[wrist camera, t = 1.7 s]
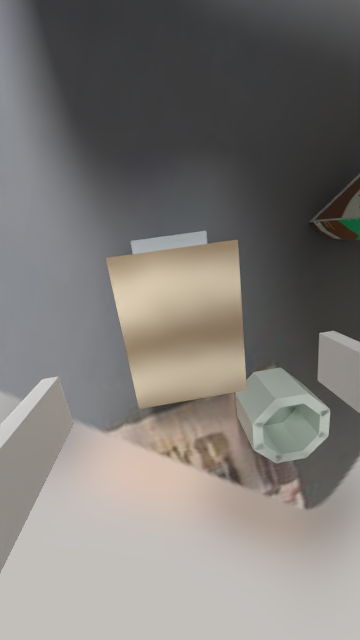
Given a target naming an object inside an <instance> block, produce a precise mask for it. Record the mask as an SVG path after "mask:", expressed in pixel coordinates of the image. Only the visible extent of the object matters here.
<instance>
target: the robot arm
mask: <svg viewBox="0 0 360 640" xmlns="http://www.w3.org/2000/svg"><path fill="white" fill-rule="evenodd" d="M318 381H319V382H320V383H321V384H323V385H324V386H325V387H327V388H328V389H329V390H330V391H332V392H333V393H334V394H336V395H337V396H338V397H339V398H341V399H342V400H343V401H345V402H346V403H347V404H348V405H350V406H351V407H352V408H353V409H355V410H356V411H357V412H359V413H360V342H359V341H356V340H354V339H352V338H349V337H347V336H345V335H342V334H340V333H338V332H335V331H329V332H323V333H319V355H318ZM73 424H74V423H73V420H72V417H71V414H70V411H69V408H68V404H67V401H66V398H65V395H64V392H63V389H62V386H61V382H60V379H59V377H53V378H47V379H42V380H41V381H40V382H39V383H38V385H37V386H36V387H35V388H34V389H33V390H32V391H31V392H30V393H29V394H28V395H27V396H26V398H25V399H24V400H23V401H22V402H21V403H20V404H19V405H18V406H17V407H16V408H15V410H14V411H13V412H12V413H11V414H10V415H9V416H8V417H7V418H6V419H5V420H4V421H3V422H2V424H1V425H0V572H1V570H2V568H3V566H4V564H5V562H6V560H7V558H8V556H9V554H10V552H11V550H12V548H13V546H14V544H15V542H16V540H17V538H18V536H19V534H20V532H21V530H22V527H23V526H24V524H25V522H26V520H27V518H28V516H29V513H30V511H31V509H32V507H33V505H34V503H35V501H36V499H37V497H38V495H39V493H40V491H41V489H42V487H43V485H44V483H45V481H46V479H47V477H48V475H49V473H50V471H51V469H52V467H53V465H54V462H55V461H56V459H57V457H58V455H59V452H60V451H61V449H62V447H63V445H64V443H65V441H66V438H67V436H68V434H69V432H70V430H71V428H72V426H73Z"/></svg>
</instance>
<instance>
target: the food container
mask: <svg viewBox="0 0 360 640" xmlns="http://www.w3.org/2000/svg"><path fill="white" fill-rule="evenodd" d="M309 223H310V224H311V225H312V226H313V228H314V229H315V230H316V231H317V232H319V233H321V234H323V235H325V236H326V237H328V238H333V239H340V240H352V241H360V174H359V175H358V176H357V177H356V178H355V179H354V180H352V181H351V182H350V183H349V184H348V185H347V186H346V187H345V188H344V189H343V190H342V191H341V192H340V193H339V194H338V195H337V196H336V197H335V198H334V199H333V200H332V201H331V202H329V203H328V204H327V205H326V206H325V207H324V208H323V209H322V210H321V211H320V212H319V213H318V214H317V215H316V216H315V217H314V218H313V219H312V220H311V221H310V222H309Z"/></svg>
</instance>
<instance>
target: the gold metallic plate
mask: <svg viewBox="0 0 360 640" xmlns="http://www.w3.org/2000/svg"><path fill="white" fill-rule="evenodd" d="M106 261H107V266H108V270H109V275H110V279H111V284H112V288H113V293H114V297H115V302H116V306H117V311H118V315H119V320H120V325H121V329H122V334H123V338H124V343H125V347H126V352H127V356H128V361H129V365H130V370H131V374H132V379H133V383H134V388H135V392H136V397H137V401H138V406H139V409H142V408H148V407H154V406H159V405H165V404H171V403H177V402H182V401H188V400H194V399H200V398H205V397H211V396H217V395H223V394H228V393H234V392H240V391H246V390H247V387H246V370H245V352H244V335H243V318H242V301H241V283H240V266H239V249H238V239H237V240H230V241H223V242H216V243H209V244H202V245H195V246H188V247H181V248H174V249H167V250H159V251H152V252H145V253H138V254H131V255H124V256H117V257H110V258H106Z"/></svg>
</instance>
